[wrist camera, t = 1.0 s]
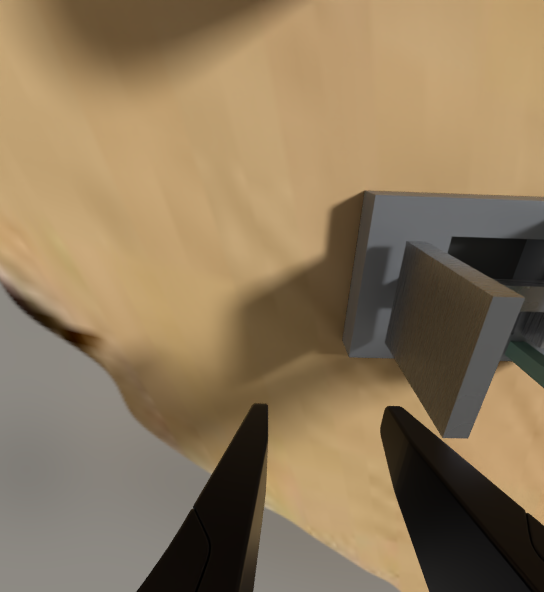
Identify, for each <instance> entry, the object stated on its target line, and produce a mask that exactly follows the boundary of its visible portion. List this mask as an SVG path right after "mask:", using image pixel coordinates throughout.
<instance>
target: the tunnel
mask: <svg viewBox="0 0 544 592" xmlns="http://www.w3.org/2000/svg"><path fill="white" fill-rule="evenodd" d="M505 355H506V356H507V357H508V358H509V359H510V360H512V361H513V362H514V363H515V364H516V365H517V366H519V367H520V368H521V369H522V370H523V371H524V372H526V373H527V374H528V375H529V376H530V377H531V378H533V379H534V380H535V381H536V382H537V383H538V384H540V385H541V386H542V387H543V388H544V355H543V354H542V353H540V352H539V351H538V350H536V349H535V348H533V347H532V346H531V345H529V344H528V343H527V342H516V341H510V343H509V345H508V348H507V350H506V353H505Z"/></svg>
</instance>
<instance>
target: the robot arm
mask: <svg viewBox="0 0 544 592" xmlns="http://www.w3.org/2000/svg"><path fill="white" fill-rule="evenodd" d="M380 433H381V439H382V443H383V447H384V451H385V455H386V459H387V464H388V468H389V472H390V476H391V480H392V484H393V488H394V492H395V495H396V498H397V501H398V504H399V507H400V509H401V512H402V515H403V518H404V521H405V524H406V527H407V529H408V532H409V535H410V538H411V541H412V544H413V546H414V549H415V552H416V555H417V558H418V561H419V564H420V566H421V569H422V572H423V575H424V578H425V581H426V584H427V586H428V589H429V592H544V526H543V525H542V524H541V523H540V522H539V521H538V520H536V519H535V518H534V517H533V516H532V515H530V514H529V513H526V512H525V510H524V509H523V508H522V507H521V506H519V505H518V504H517V503H516V502H515V501H513V500H512V499H511V498H510V497H509V496H508V495H506V494H505V493H504V492H503V491H502V490H500V489H499V488H498V487H497V486H496V485H494V484H493V483H492V482H491V481H490V480H488V479H487V478H486V477H485V476H484V475H482V474H481V473H480V472H479V471H478V470H476V469H475V468H474V467H473V466H472V465H471V464H469V463H468V462H467V461H466V460H465V459H463V458H462V457H461V456H460V455H459V454H457V453H456V452H455V451H454V450H453V449H451V448H450V447H449V446H448V445H447V444H445V443H444V442H443V441H442V440H441V439H439V438H438V437H437V436H436V435H435V434H434V433H432V432H431V431H430V430H429V429H428V428H426V427H425V426H424V425H423V424H422V423H420V422H419V421H418V420H417V419H416V418H414V417H413V416H412V415H411V414H410V413H408V412H407V411H406V410H405V409H404V408H402V407H400V406H387V407H386V408H385V410H384V414H383V419H382V423H381V427H380ZM267 452H268V405H267V404H261V403H255V404H253V405H252V407H251V408H250V410H249V412H248V414H247V415H246V417H245V419H244V420H243V422H242V424H241V426H240V427H239V429H238V431H237V432H236V434H235V436H234V437H233V439H232V441H231V443H230V444H229V446H228V448H227V449H226V451H225V453H224V455H223V456H222V458H221V460H220V461H219V463H218V465H217V466H216V468H215V470H214V472H213V473H212V475H211V477H210V479H209V480H208V482H207V484H206V485H205V487H204V489H203V490H202V492H201V494H200V495H199V497H198V499H197V501H196V502H195V504H194V506H193V509H191V511H190V512H189V514H188V516H187V517H186V519H185V521H184V522H183V524H182V526H181V528H180V529H179V531H178V532H177V534H176V535H175V537H174V539H173V540H172V542H171V543H170V545H169V547H168V548H167V550H166V551H165V552H164V554H163V555H162V557H161V558H160V560H159V561H158V563H157V564H156V565H155V567H154V568H153V570H152V571H151V573H150V574H149V576H148V577H147V578H146V580H145V581H144V582H143V584H142V585H141V586H140V588H139V589H138V590H137V592H253V589H254V581H255V573H256V565H257V558H258V549H259V542H260V534H261V526H262V518H263V510H264V503H265V494H266V477H267Z"/></svg>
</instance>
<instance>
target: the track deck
mask: <svg viewBox="0 0 544 592" xmlns="http://www.w3.org/2000/svg"><path fill="white" fill-rule="evenodd" d="M406 241H426V242H428V243H430V244H432V245H433V246H435V247H437V248H439V249H440V250H442V251H444V252H446V253H448V254H449V255H451V256H453V257H455V258H456V259H458V260H460V261H462V262H463V263H465V264H467V265H469V266H470V267H472V268H474V269H476V270H477V271H479V272H481V273H483V274H485V275H486V276H488V277H490V278H492V279H513V280H544V197H528V196H501V195H474V194H446V193H419V192H392V191H365V193H364V200H363V206H362V213H361V220H360V226H359V233H358V240H357V246H356V253H355V259H354V266H353V273H352V279H351V286H350V293H349V299H348V306H347V313H346V319H345V326H344V333H343V339H342V341H343V343H344V346H345V348H346V351H347V354H348V356H349V357H358V358H394V357H393V356H392V354H391V352H390V351H389V349H388V347H387V346H386V344H385V338H386V334H387V329H388V324H389V320H390V315H391V311H392V306H393V301H394V297H395V292H396V287H397V283H398V278H399V274H400V269H401V264H402V260H403V255H404V251H405V246H406ZM529 314H530V312H523V311H520V312H519V314H518V317H517V319H516V322H515V324H514V327H513V329H512V331H511V334H510V336H509V339H508V341H507V344H506V346H505V349H504V351H503V354H502V356H501V359H500V361H512V360H510V359H509V358H508V357H507V356H506V355H505V353H506V350H507V348H508V345H509V343H510V341H516V342H527V343H528V344H529V345H531V346H532V347H533V348H535V349H536V350H538V351H539V352H540V353H542V354H543V355H544V348H539V347H537V346H536V345H535V344H533V343H532V342H531V341H529V340H528V339H526V338H525V337H524V336H522V335H521V332H522V330H523V328H524V325H525V323H526V321H527V318H528V316H529Z"/></svg>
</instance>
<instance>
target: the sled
mask: <svg viewBox="0 0 544 592" xmlns="http://www.w3.org/2000/svg"><path fill="white" fill-rule="evenodd" d="M520 311H523V312H530V314H529V316H528V318H527V321H526V323H525V325H524V328H523V330H522V332H521V335H522V336H524V337H525V338H526V339H528V340H529V341H531V342H532V343H533V344H535V345H536V346H537V347H539V348H544V280H513V279H492V278H490V277H488V276H486V275H485V274H483V273H481V272H479V271H477V270H476V269H474V268H472V267H470V266H469V265H467V264H465V263H463V262H462V261H460V260H458V259H456V258H455V257H453V256H451V255H449V254H448V253H446V252H444V251H442V250H440V249H439V248H437V247H435V246H433V245H432V244H430V243H428V242H426V241H406V246H405V251H404V255H403V260H402V264H401V269H400V274H399V278H398V283H397V287H396V292H395V297H394V301H393V306H392V311H391V315H390V320H389V324H388V329H387V334H386V338H385V344H386V346H387V347H388V349H389V351H390V352H391V354H392V356H393V357H394V359H395V361H396V362H397V364H398V365H399V367H400V369H401V370H402V372H403V374H404V375H405V377H406V379H407V380H408V382H409V384H410V385H411V387H412V388H413V390H414V392H415V393H416V395H417V397H418V398H419V400H420V402H421V403H422V405H423V407H424V408H425V410H426V412H427V413H428V415H429V416H430V418H431V420H432V421H433V423H434V425H435V426H436V428H437V430H438V431H439V433H440V435H441V436H442V438H468V437H469V435H470V432H471V430H472V428H473V425H474V423H475V420H476V418H477V415H478V413H479V410H480V408H481V405H482V403H483V400H484V398H485V395H486V393H487V391H488V388H489V386H490V383H491V381H492V378H493V376H494V373H495V371H496V368H497V366H498V363H499V361H500V359H501V356H502V354H503V351H504V349H505V346H506V344H507V341H508V339H509V336H510V334H511V331H512V329H513V327H514V324H515V322H516V319H517V317H518V314H519V312H520Z"/></svg>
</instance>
